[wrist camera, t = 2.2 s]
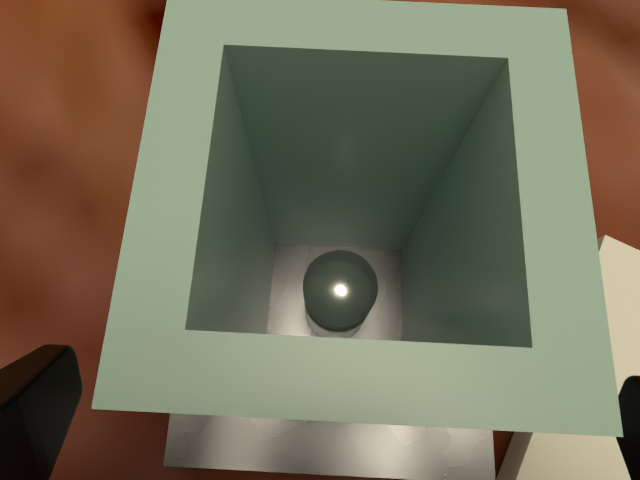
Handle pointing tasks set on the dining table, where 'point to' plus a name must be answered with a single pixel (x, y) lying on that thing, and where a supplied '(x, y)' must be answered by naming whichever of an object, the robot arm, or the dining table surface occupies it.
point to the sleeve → (364, 218)
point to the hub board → (629, 359)
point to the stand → (323, 436)
